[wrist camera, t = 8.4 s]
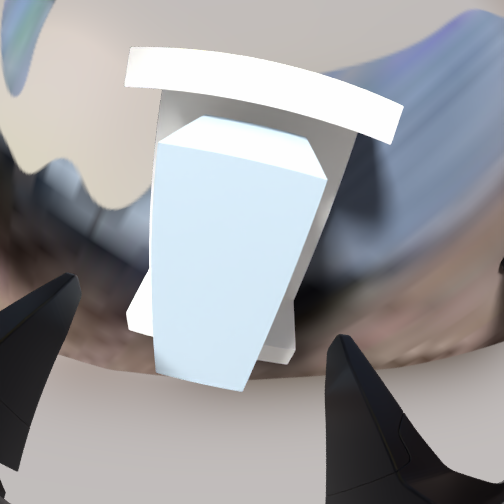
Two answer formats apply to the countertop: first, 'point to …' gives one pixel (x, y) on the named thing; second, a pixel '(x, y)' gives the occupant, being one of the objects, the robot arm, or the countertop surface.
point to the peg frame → (266, 114)
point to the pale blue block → (226, 243)
